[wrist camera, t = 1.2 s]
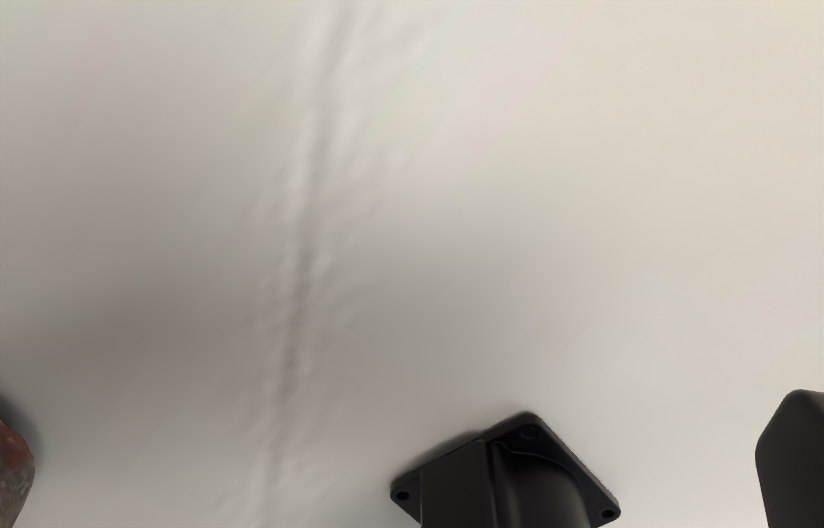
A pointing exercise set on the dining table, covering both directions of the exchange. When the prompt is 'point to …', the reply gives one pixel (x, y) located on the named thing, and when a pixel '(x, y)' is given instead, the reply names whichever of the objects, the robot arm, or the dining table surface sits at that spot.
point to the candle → (13, 475)
